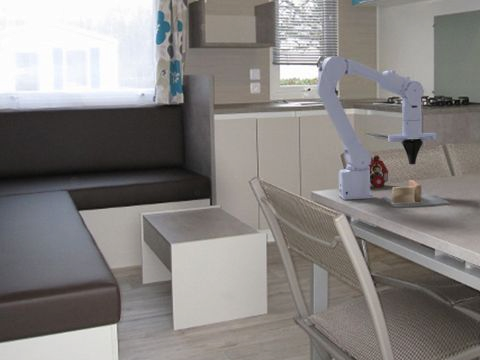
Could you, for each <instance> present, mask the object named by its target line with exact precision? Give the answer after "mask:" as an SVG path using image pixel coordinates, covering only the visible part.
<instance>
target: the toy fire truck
mask: <svg viewBox="0 0 480 360" xmlns="http://www.w3.org/2000/svg"><path fill="white" fill-rule="evenodd" d="M368 166H370V185H373V186H374V187H375V188H376V189H377V188H382V187H384V185H385V183H387V182H388V181H389V170H388V168H387V166H386V165H385V162H384V161H383V160H381V159H380V156H379V155H373V157H372V156H371V162H370V164H369V165H368Z"/></svg>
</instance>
